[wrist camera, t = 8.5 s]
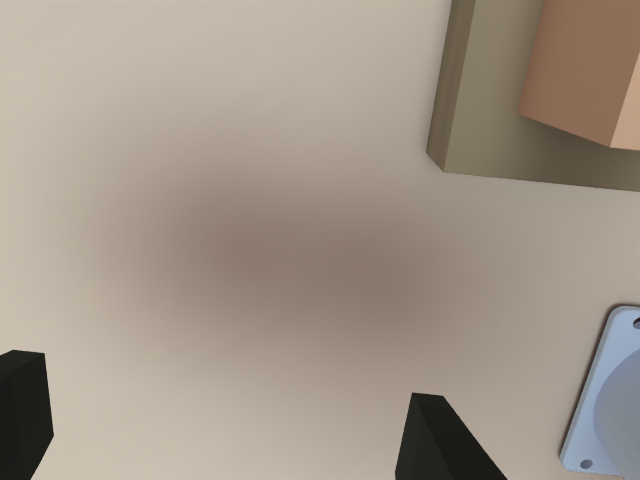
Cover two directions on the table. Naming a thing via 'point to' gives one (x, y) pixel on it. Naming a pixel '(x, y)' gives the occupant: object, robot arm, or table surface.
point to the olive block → (508, 107)
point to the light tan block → (587, 71)
